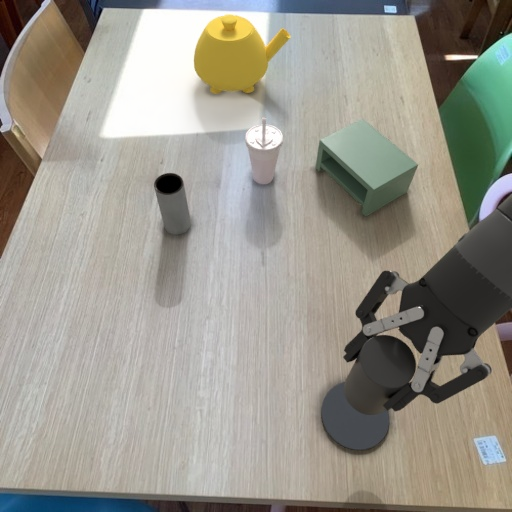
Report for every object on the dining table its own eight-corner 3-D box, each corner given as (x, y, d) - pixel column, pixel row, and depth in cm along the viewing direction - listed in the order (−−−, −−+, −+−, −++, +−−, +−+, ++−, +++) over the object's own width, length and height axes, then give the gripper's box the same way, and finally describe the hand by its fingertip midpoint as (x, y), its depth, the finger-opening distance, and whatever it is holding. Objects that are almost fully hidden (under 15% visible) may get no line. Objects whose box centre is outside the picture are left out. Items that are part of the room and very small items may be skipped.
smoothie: (243, 187, 86) (241, 127, 74) (248, 162, 89) (247, 101, 78) (278, 191, 85) (282, 131, 74) (282, 165, 89) (286, 104, 77)
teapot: (285, 56, 108) (288, -5, 97) (290, 101, 99) (295, 40, 88) (196, 58, 107) (190, -3, 96) (194, 103, 99) (187, 42, 87)
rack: (407, 192, 86) (418, 164, 80) (365, 216, 82) (374, 189, 77) (355, 146, 92) (362, 118, 86) (315, 168, 89) (319, 139, 83)
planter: (173, 239, 80) (163, 199, 71) (159, 222, 82) (148, 180, 73) (196, 226, 81) (189, 185, 72) (182, 210, 83) (173, 168, 74)
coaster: (401, 411, 64) (402, 410, 64) (364, 465, 60) (365, 465, 60) (346, 369, 67) (346, 368, 67) (307, 418, 63) (307, 417, 63)
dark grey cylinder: (400, 388, 56) (426, 357, 48) (374, 425, 54) (397, 399, 46) (361, 359, 58) (379, 324, 50) (334, 393, 56) (349, 363, 48)
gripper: (557, 325, 44) (426, 431, 50) (442, 223, 51) (338, 328, 57) (551, 332, 38) (402, 451, 44) (421, 214, 44) (308, 333, 51)
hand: (367, 381), depth 51 cm, fingers closed on dark grey cylinder, 5 cm apart
